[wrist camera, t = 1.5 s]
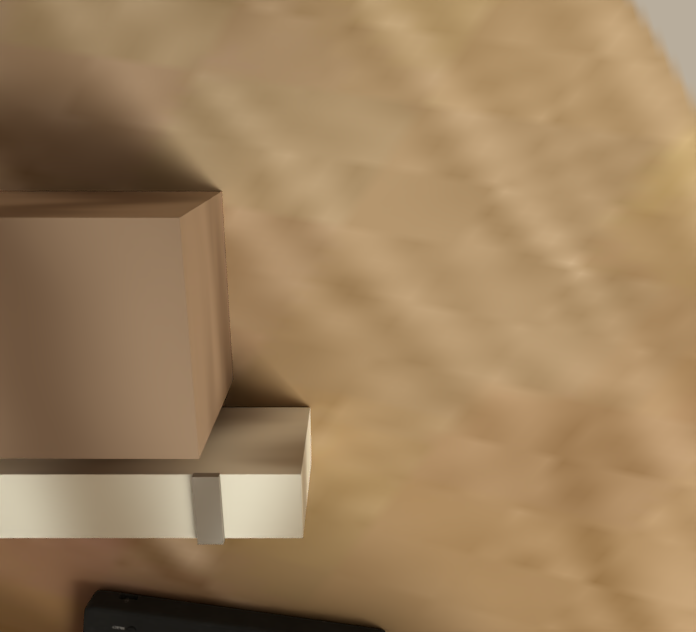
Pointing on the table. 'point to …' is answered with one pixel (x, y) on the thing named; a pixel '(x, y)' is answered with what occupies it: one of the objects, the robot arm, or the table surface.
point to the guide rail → (172, 487)
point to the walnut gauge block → (112, 323)
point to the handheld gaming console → (191, 617)
